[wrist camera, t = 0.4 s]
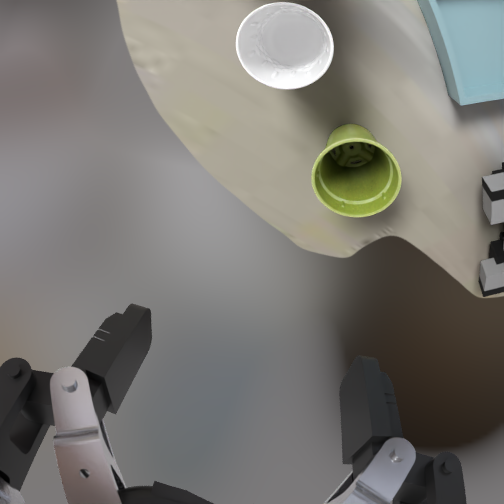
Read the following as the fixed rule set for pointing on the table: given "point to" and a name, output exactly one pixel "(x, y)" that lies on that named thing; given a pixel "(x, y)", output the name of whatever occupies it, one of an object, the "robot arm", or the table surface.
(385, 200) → the plant pot
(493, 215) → the game console
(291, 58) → the white cup
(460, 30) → the parts tray
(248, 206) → the table surface
